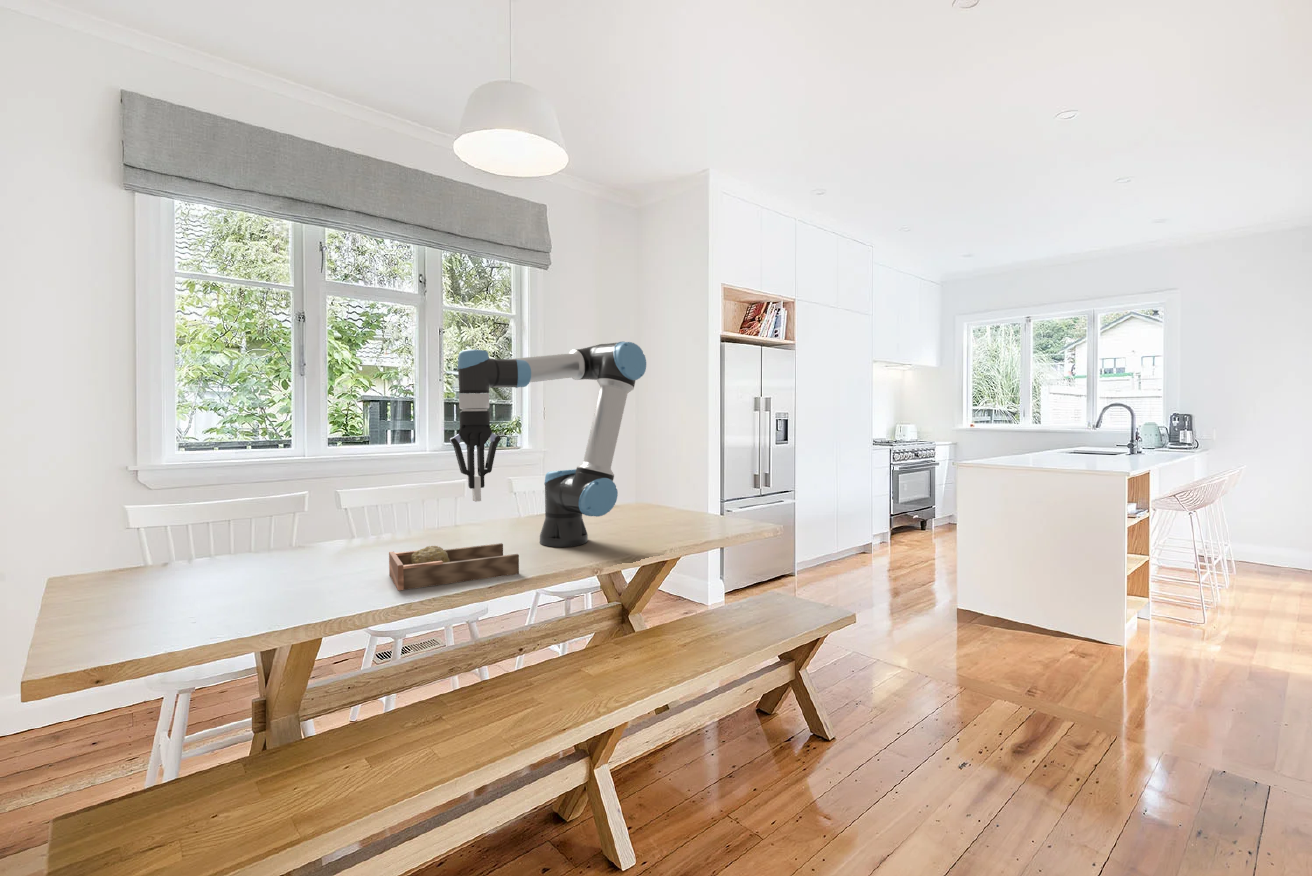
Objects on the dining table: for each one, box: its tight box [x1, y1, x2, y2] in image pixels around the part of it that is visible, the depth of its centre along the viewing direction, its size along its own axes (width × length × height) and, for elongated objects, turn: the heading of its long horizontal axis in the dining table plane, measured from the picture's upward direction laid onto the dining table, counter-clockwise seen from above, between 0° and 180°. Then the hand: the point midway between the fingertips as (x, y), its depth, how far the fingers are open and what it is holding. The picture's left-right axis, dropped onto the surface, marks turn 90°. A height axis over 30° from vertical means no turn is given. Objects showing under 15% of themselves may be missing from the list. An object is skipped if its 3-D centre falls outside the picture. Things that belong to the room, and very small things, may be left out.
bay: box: [388, 542, 520, 592], centre depth 160 cm, size 29×15×6 cm, turn 121°
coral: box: [411, 545, 450, 564], centre depth 157 cm, size 9×9×8 cm
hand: (476, 500), depth 162 cm, fingers closed
